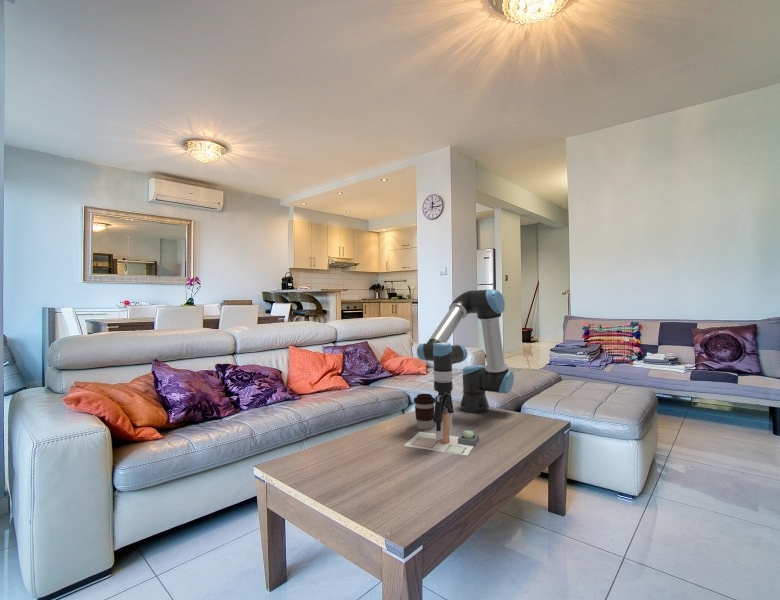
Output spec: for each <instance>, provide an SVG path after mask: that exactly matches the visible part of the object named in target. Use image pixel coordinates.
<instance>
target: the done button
mask: <svg viewBox="0 0 780 600" xmlns="http://www.w3.org/2000/svg"><path fill="white" fill-rule="evenodd" d="M462 433H463V435H464V439H472V440H473V439H474V437H473V434H474V431H473V430H466V429H465V430H463V431H462Z"/></svg>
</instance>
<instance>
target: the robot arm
mask: <svg viewBox="0 0 780 600" xmlns="http://www.w3.org/2000/svg"><path fill="white" fill-rule="evenodd" d="M505 305H506V303H505V299H504V296H503V293H501V292H500V291H499V290H497V289H477V290H468V291H465V292H463V293H461V294H460V295H458V296H457V297H456V298H455V299H454V300H452V302H451V304H450V305H449V306H448V311H447V313H446V314H445V316H444V317H443V318H442V320H441V321H440V323H439V324H438V326H437V327H436V329H435V330H434V332H433V333H432V335H431V336H430V338H429V339H428V341H427V342H426V343H420V344H419V345H418V346H417V348H416V355H417V357H418V359H419V360H422V361H426V362H429V361H430V362H433V372H432V374H433V380H434V381H433V390H434V391H436V392H437V395H436V396H435V397H434V398H435V403H434V419H433V423H435V434H436V439H443V422H442V417H443V411H444V408H447V409H448V412H449V430H453V416H452V415H453V414H454V412H455V410H454V404H453V400H452V391H453V381H452V380H453V365H455V364H459V363H462V362H464V361H466V359H467V358H468V351H467V348H466V347H465V346H464V345H462V344H455V345H454V344H453V345H452V344H451V343H450V342H448V341H449V340H450V338H451V337H452V335H453V334H454V332H455V330H456V328H457V327H458V325H459V324H460V322H461V321H462V320H463V319H465V318H466V317H467V315H468V314H476V316H477V319H478V320H479V321H481V330H482V336H483V337H482V338H483V343H484V345H483V346H484V350H485V358H486V366H485V364H476V365H475V364H474V365H473V364H472V365H467V366H465V367H463V369H462V390H463V391H462V397H461V400H460V403H459V404H460V405H459V407H460V410H461V411H464V412H469V413H484V412H488V411H489V410H490V406H489V405H490V404H489V401H488V398H487V395H486V392H490V393H496V394H504V395H505V394H509V393H510V392H511V390H512V389H513V385H514V380H515V373H514V372H513V371H512V370H509V365H508V364H506V363H505V358H504V351H503V349H504V348H503V342H502V334H501V333H502V332H501V326H500V318H501V317H502V314H503V313H504V311H505V307H506V306H505Z"/></svg>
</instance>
